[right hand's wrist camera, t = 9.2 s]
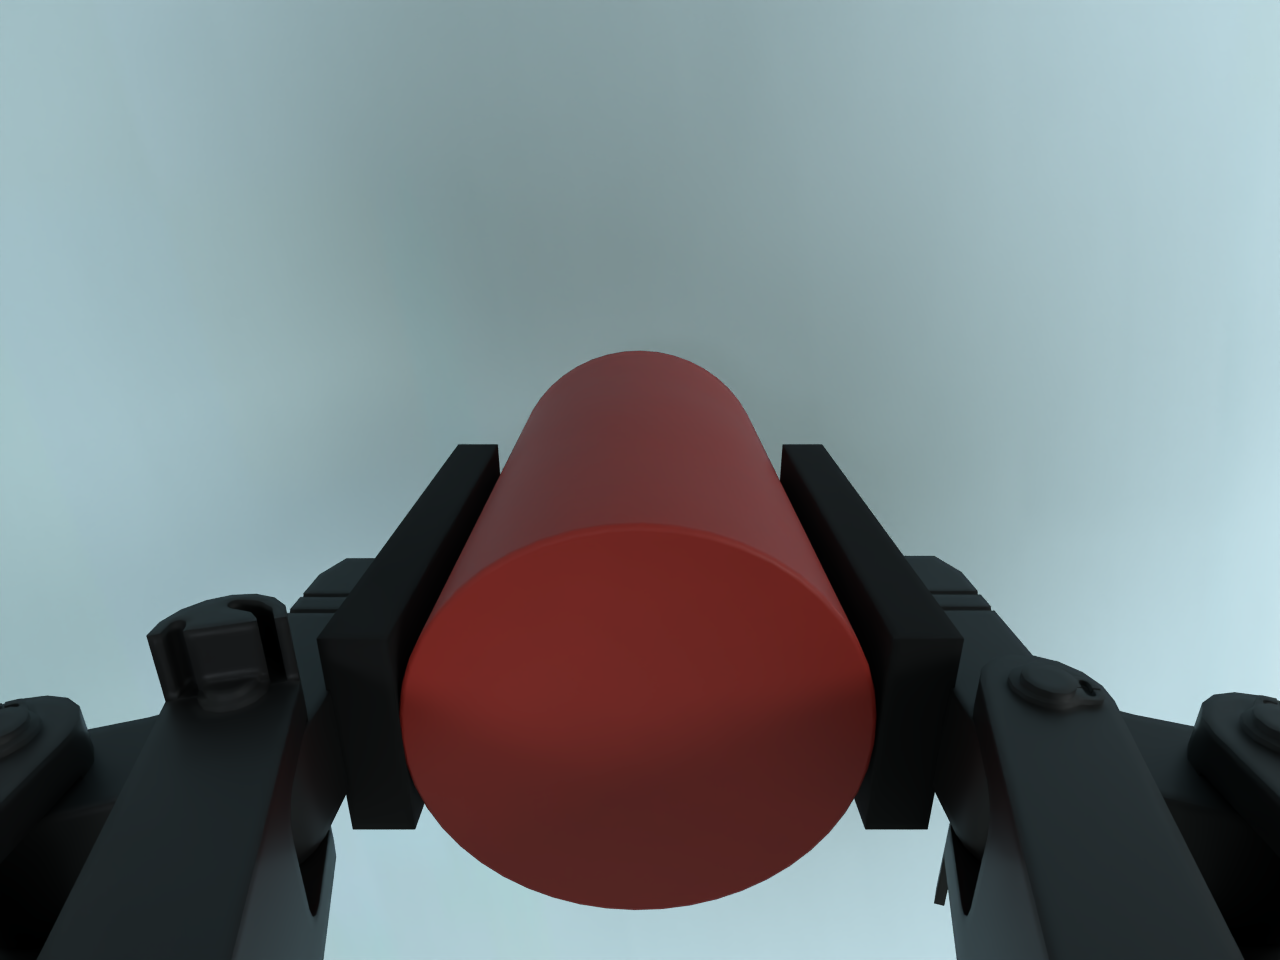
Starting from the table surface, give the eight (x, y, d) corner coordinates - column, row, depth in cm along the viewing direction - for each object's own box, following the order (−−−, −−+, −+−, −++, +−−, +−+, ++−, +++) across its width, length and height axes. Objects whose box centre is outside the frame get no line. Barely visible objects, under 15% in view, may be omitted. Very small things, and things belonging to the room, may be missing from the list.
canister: (509, 559, 17) (391, 888, 9) (530, 332, 15) (403, 491, 7) (733, 588, 18) (815, 933, 9) (781, 369, 16) (940, 563, 7)
